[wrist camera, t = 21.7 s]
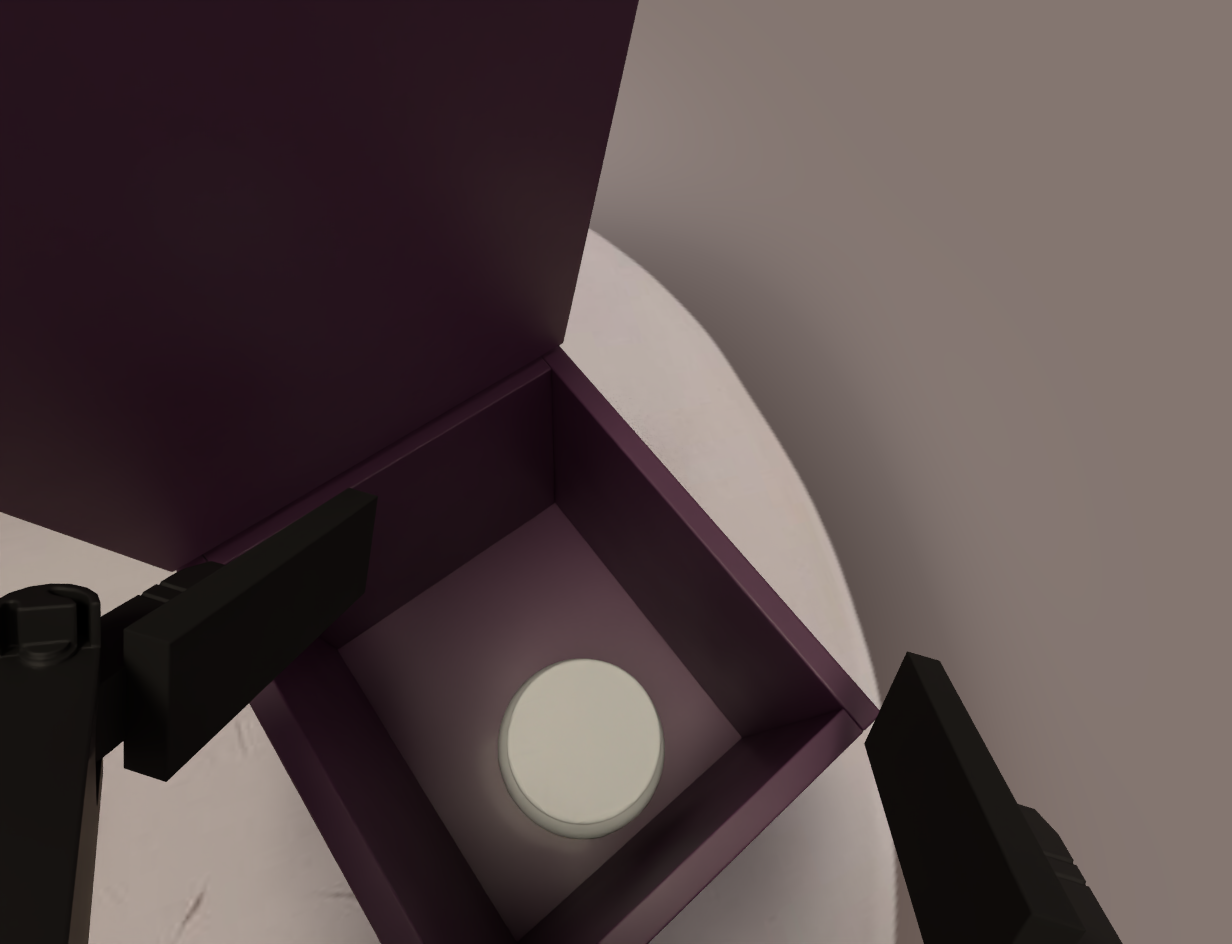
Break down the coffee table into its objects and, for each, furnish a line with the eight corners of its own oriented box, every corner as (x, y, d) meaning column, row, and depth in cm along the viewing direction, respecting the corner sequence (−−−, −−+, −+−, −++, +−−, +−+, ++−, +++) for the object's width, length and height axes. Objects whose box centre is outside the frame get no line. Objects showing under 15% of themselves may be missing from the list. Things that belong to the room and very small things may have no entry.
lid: (712, -327, 8) (433, -614, 9) (-1217, 91, 4) (-1419, -559, 4) (563, 343, 23) (468, 218, 24) (172, 573, 19) (71, 411, 20)
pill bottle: (515, 836, 28) (490, 862, 19) (508, 691, 30) (482, 652, 21) (653, 817, 28) (692, 833, 19) (634, 676, 31) (662, 631, 22)
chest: (762, 742, 31) (883, 712, 19) (512, 973, 26) (474, 1114, 15) (558, 489, 35) (557, 342, 24) (318, 650, 31) (173, 566, 19)
